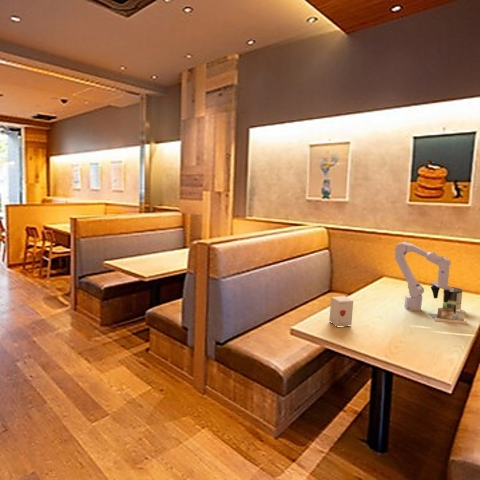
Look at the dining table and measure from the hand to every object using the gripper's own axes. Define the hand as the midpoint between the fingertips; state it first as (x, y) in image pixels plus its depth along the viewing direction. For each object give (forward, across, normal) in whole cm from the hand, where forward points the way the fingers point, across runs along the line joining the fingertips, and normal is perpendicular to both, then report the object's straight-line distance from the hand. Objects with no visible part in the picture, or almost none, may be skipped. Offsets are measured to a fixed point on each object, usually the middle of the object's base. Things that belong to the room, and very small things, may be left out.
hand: (440, 300), depth 219 cm
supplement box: (+10, -2, -68) cm, 69 cm away
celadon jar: (+9, +12, +3) cm, 15 cm away
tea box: (+9, +8, -4) cm, 12 cm away
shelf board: (+10, +7, -1) cm, 12 cm away
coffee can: (+10, -5, +16) cm, 19 cm away
